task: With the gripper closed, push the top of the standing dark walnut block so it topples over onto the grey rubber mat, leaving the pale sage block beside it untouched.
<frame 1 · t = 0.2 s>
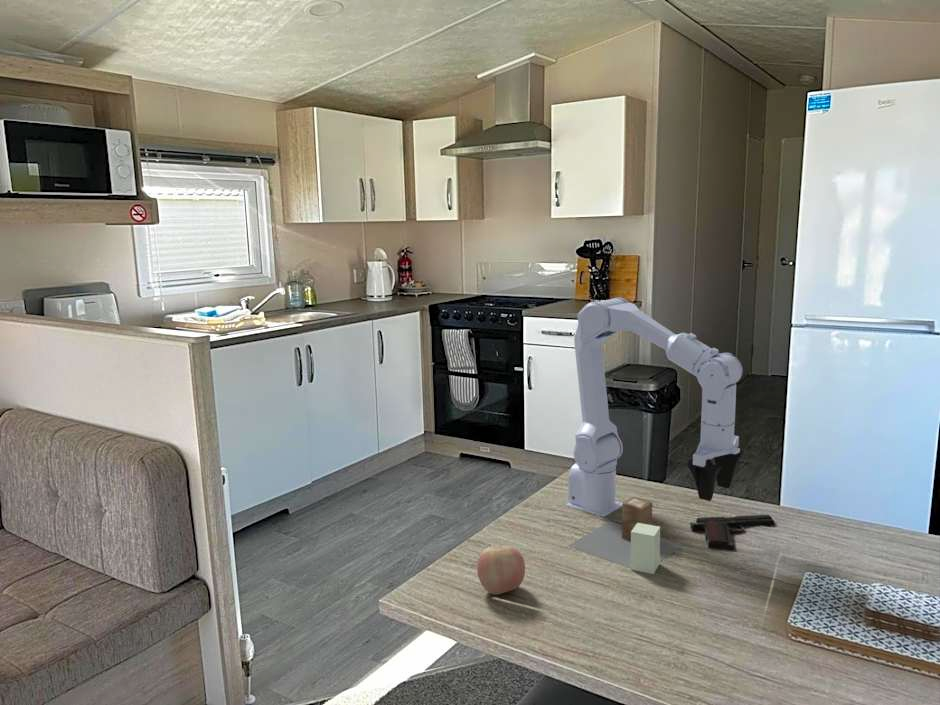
hand: (714, 492, 132), 10 cm above the table, tool pointing down, fingers open, 7 cm apart
apple: (501, 593, 119), on the table
walnut block: (636, 537, 136), resting on mat
handgun: (740, 539, 137), on the table
mat: (625, 547, 134), on the table
sage block: (645, 566, 125), resting on mat
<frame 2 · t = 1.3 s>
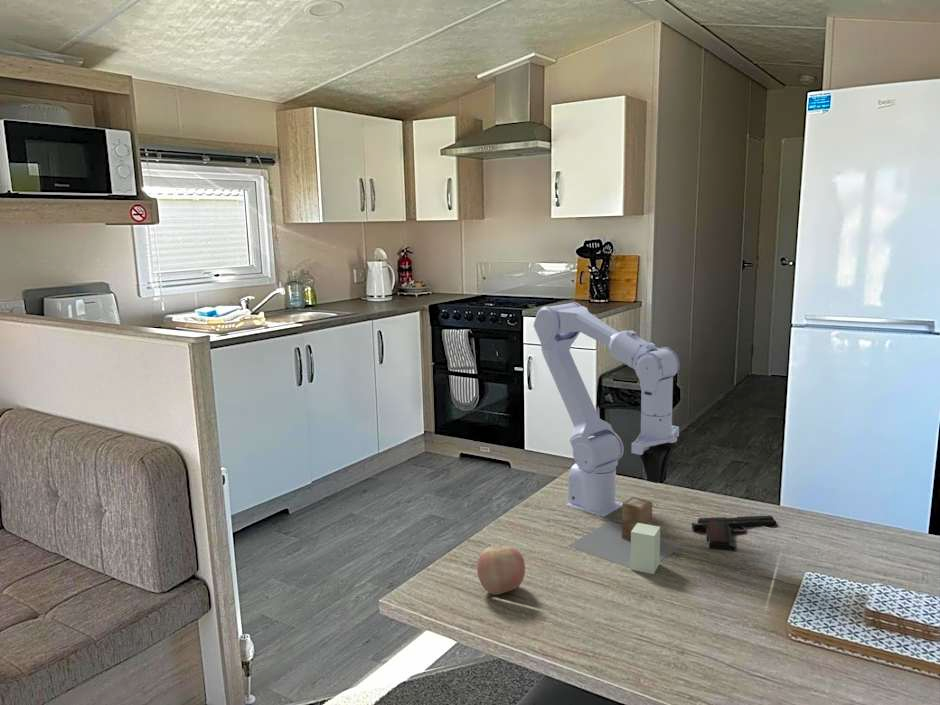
hand: (655, 480, 139), 10 cm above the table, tool pointing down, fingers closed
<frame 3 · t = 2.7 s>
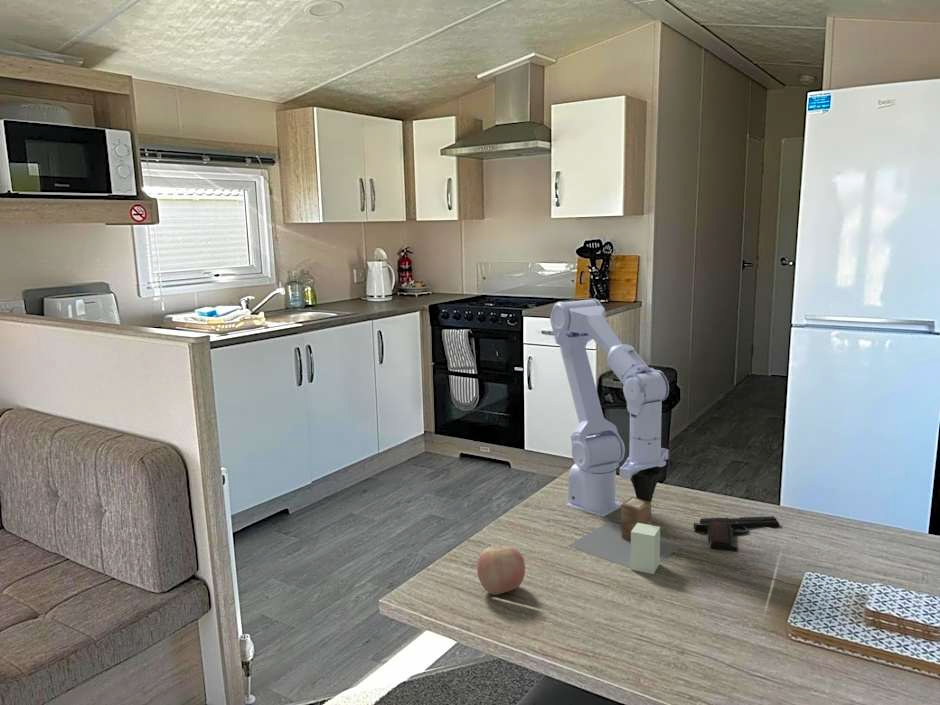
hand: (644, 504, 137), 6 cm above the table, tool pointing down, fingers closed
walnut block: (636, 537, 136), point 1 cm above the table, touching gripper, mat
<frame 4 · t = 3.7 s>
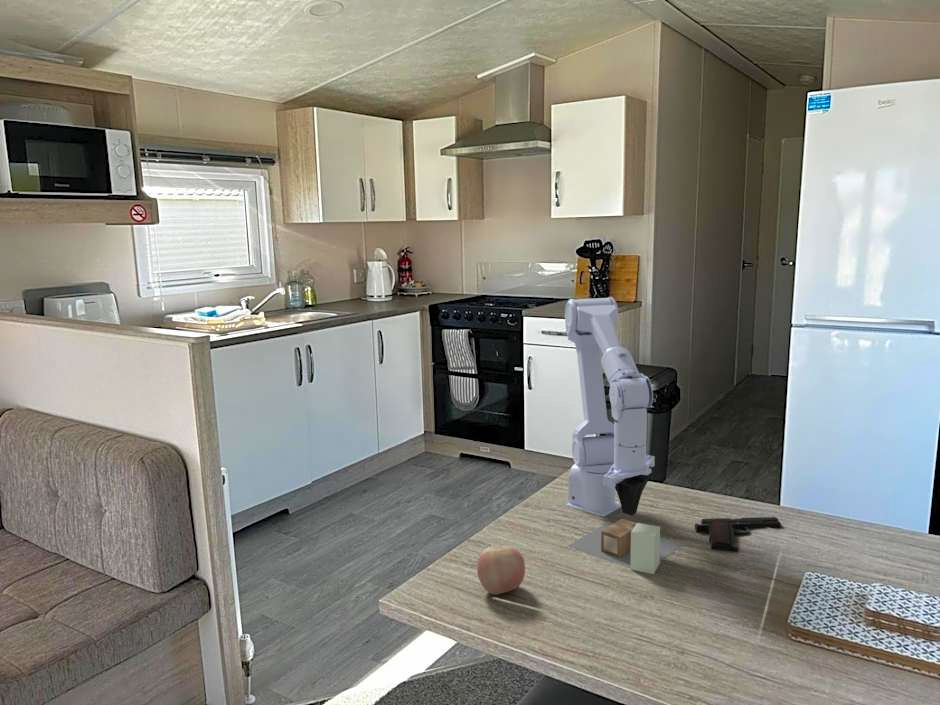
hand: (629, 513, 133), 6 cm above the table, tool pointing down, fingers closed
walnut block: (631, 531, 135), point 2 cm above the table, tilted 90°, touching mat
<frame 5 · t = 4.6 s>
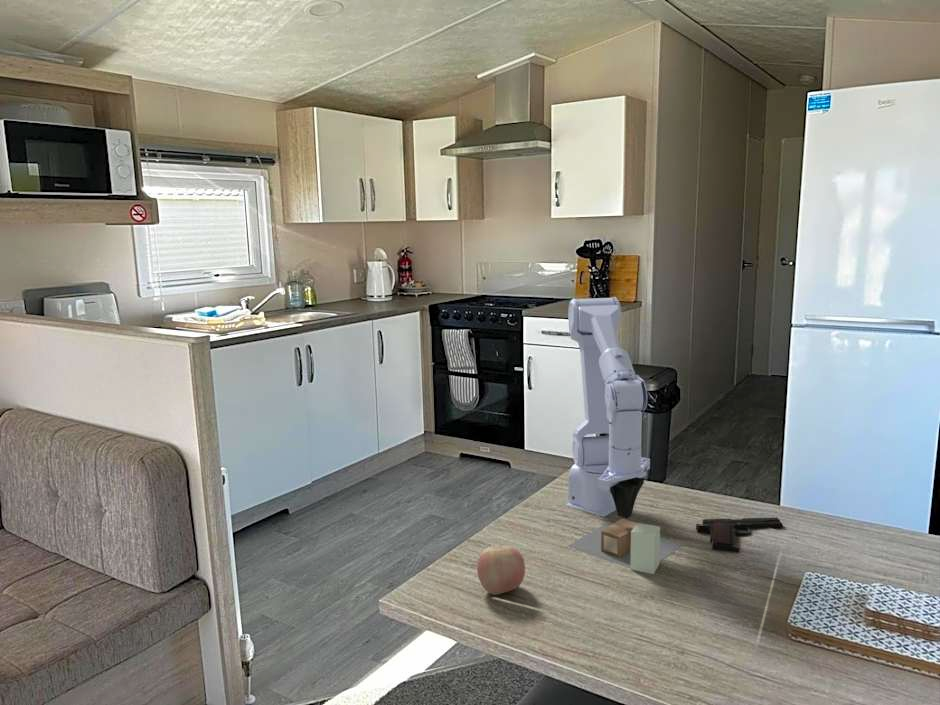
hand: (624, 516, 132), 6 cm above the table, tool pointing down, fingers closed
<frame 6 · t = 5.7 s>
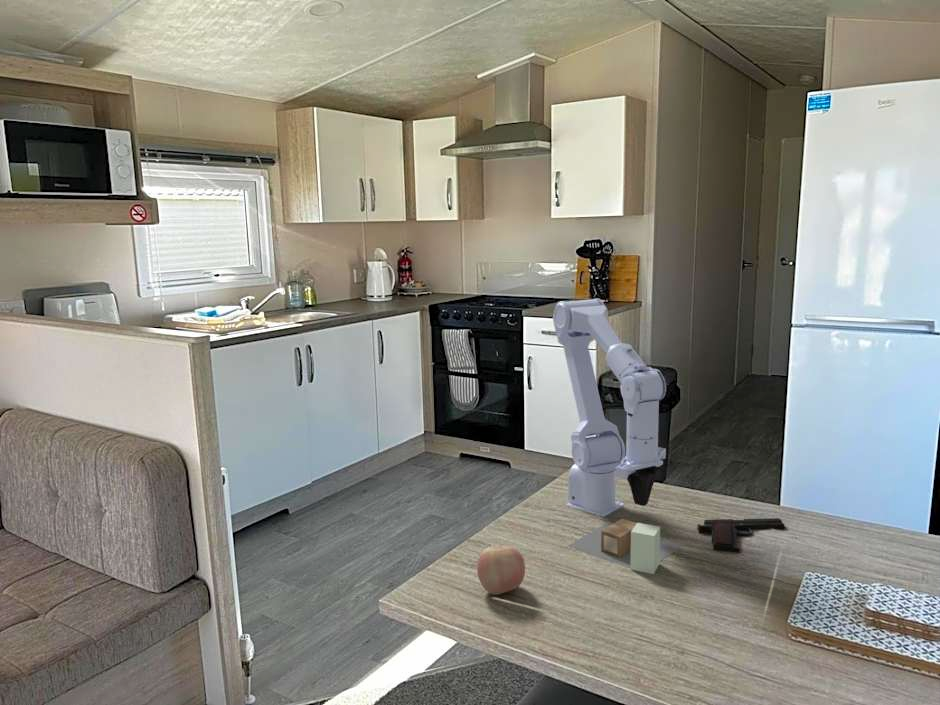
hand: (640, 503, 136), 7 cm above the table, tool pointing down, fingers closed
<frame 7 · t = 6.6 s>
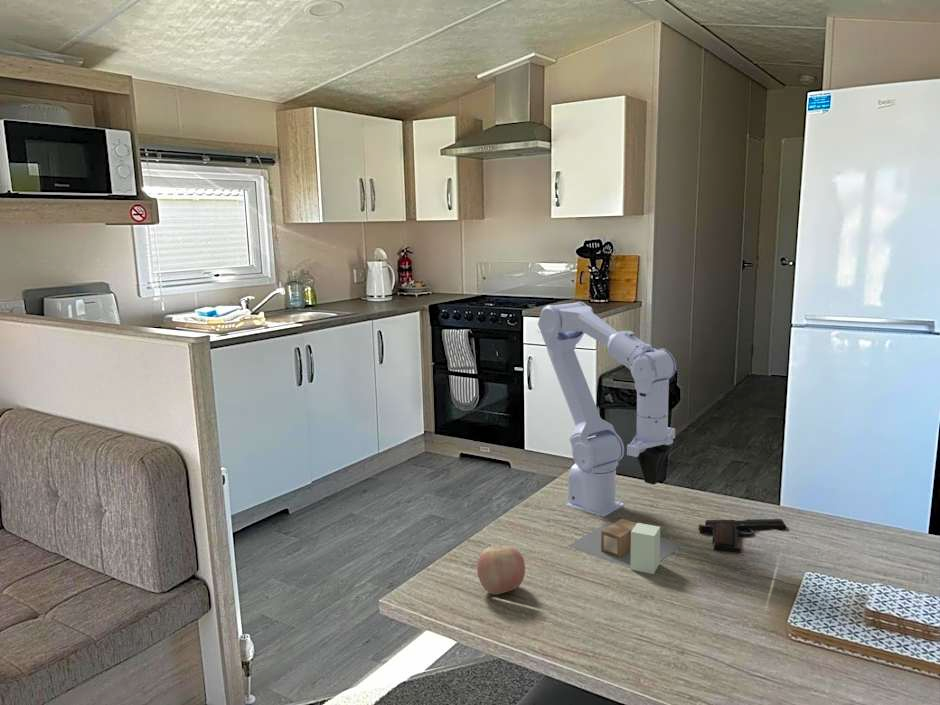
hand: (651, 482, 138), 10 cm above the table, tool pointing down, fingers closed
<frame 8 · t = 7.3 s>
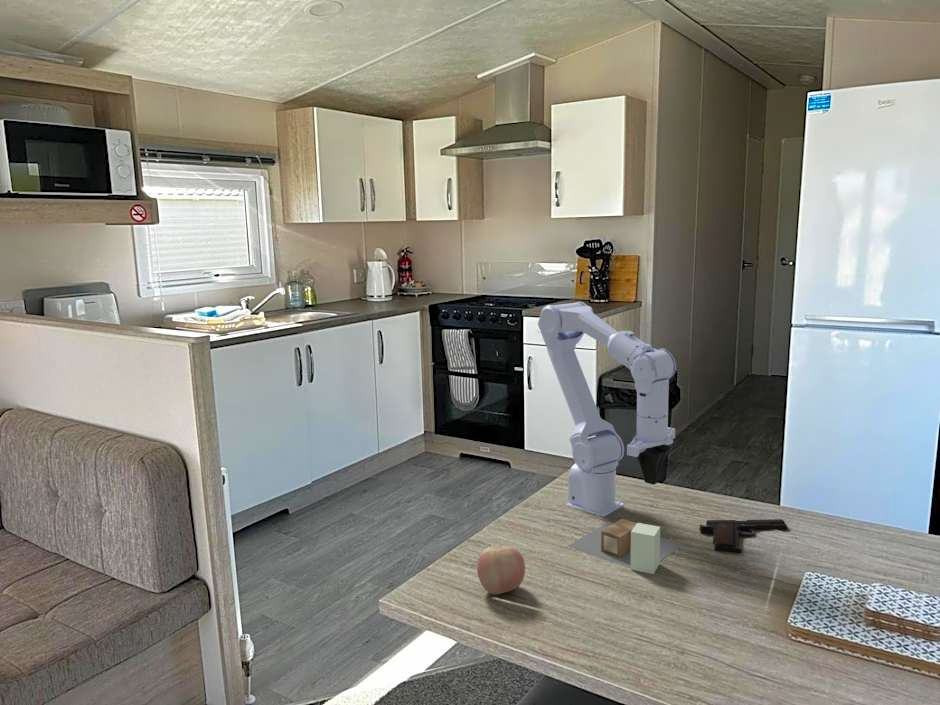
hand: (651, 482, 138), 10 cm above the table, tool pointing down, fingers closed
at the end: walnut block tilted 90°; walnut block inside the target area (2.5 cm from its centre), point 2.4 cm above the table; sage block moved 0.0 cm from its start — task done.
